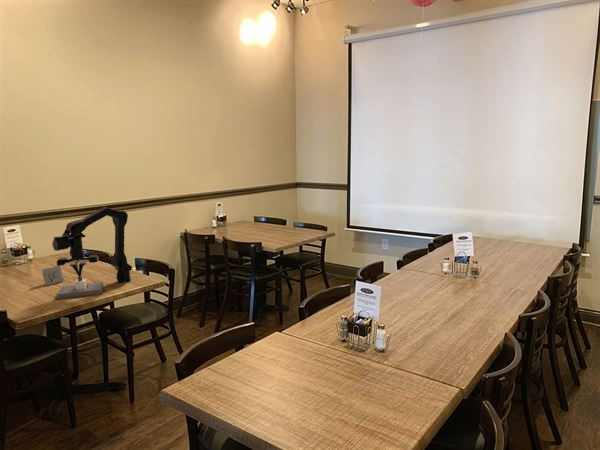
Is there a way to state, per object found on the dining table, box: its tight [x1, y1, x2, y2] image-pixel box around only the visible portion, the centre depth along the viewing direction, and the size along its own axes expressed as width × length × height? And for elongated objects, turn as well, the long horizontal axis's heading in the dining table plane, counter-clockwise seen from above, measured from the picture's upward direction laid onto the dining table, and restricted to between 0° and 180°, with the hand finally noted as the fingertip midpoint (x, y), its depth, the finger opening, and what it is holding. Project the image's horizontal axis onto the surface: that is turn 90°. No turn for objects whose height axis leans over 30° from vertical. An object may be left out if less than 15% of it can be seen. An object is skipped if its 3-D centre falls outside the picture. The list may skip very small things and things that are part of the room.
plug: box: [74, 275, 87, 290], centre depth 233 cm, size 4×4×8 cm
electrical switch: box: [41, 265, 65, 286], centre depth 251 cm, size 9×5×9 cm, turn 141°
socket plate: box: [56, 281, 105, 300], centre depth 234 cm, size 20×13×2 cm, turn 107°
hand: (79, 276), depth 233 cm, fingers closed
